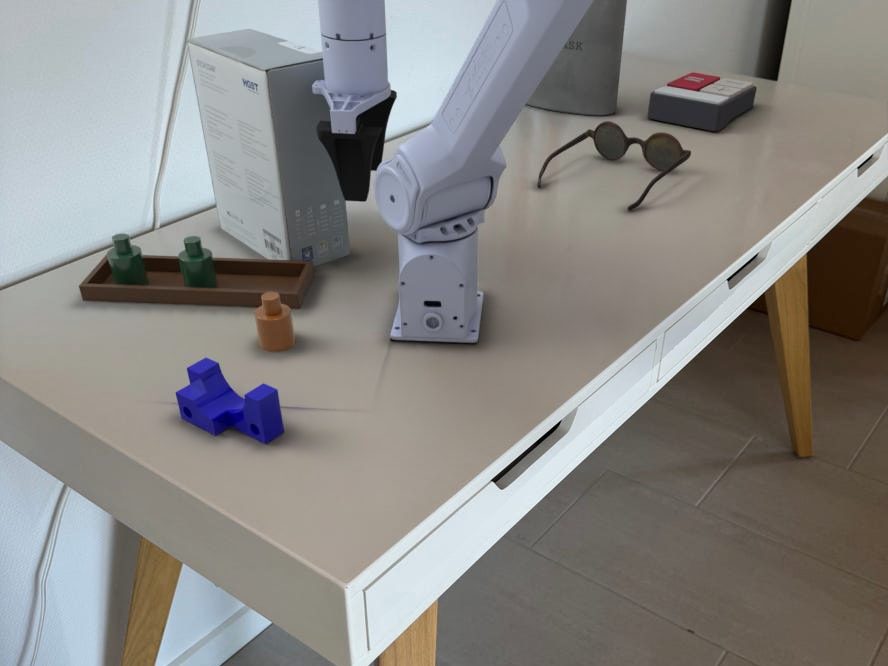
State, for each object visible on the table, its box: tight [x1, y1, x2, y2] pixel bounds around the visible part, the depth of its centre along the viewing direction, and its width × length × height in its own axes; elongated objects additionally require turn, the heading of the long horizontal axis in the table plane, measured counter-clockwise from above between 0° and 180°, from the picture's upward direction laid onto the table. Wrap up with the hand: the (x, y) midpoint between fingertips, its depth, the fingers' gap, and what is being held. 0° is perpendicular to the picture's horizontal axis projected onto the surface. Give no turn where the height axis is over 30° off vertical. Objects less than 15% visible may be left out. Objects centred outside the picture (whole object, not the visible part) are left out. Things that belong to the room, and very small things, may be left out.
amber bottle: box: [254, 292, 296, 353], centre depth 80 cm, size 3×3×5 cm
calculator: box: [646, 72, 758, 132], centre depth 135 cm, size 11×4×15 cm
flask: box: [526, 0, 628, 117], centre depth 131 cm, size 15×6×20 cm, turn 65°
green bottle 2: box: [177, 235, 218, 288], centre depth 88 cm, size 3×3×5 cm
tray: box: [78, 254, 315, 310], centre depth 90 cm, size 7×21×2 cm, turn 86°
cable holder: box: [174, 357, 285, 445], centre depth 71 cm, size 8×4×4 cm, turn 55°
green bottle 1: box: [106, 233, 149, 286], centre depth 89 cm, size 3×3×5 cm
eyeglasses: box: [537, 120, 692, 212], centre depth 112 cm, size 15×15×5 cm
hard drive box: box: [186, 28, 351, 268], centre depth 93 cm, size 16×8×20 cm, turn 41°
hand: (363, 184), depth 88 cm, fingers open, 7 cm apart
